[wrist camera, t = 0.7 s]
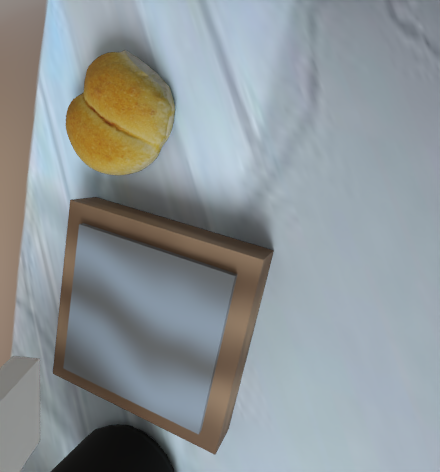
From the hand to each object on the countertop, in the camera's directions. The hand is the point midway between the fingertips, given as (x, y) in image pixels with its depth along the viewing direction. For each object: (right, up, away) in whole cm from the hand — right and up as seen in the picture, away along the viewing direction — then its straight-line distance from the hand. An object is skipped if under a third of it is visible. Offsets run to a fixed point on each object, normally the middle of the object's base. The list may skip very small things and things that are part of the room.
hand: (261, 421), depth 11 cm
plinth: (-6, -1, +21) cm, 22 cm away
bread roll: (-8, +15, +19) cm, 26 cm away
